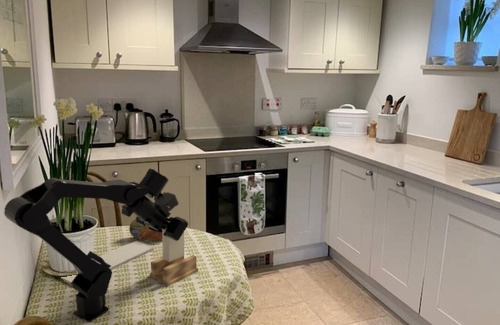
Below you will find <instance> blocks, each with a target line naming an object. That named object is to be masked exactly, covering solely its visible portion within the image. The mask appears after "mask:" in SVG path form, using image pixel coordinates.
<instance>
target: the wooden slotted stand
mask: <svg viewBox="0 0 500 325" xmlns="http://www.w3.org/2000/svg"><path fill="white" fill-rule="evenodd" d="M197 272H199V268H198V267H197V256H196V255H194V254H191V255H190V256H187V257H185V255H184V256H182V257H180V258H177V259H175V260H173V261H170V262H169V261H166V260H164V259H163V256H162V257H160V258H157V259H154V260H152V261H150V273H149V276H150V277H151V278H153V279H155V280H156V281H158V282H161V283H162V284H164V285H166V286H167V287H169V286H171V285H173V284H176V283H178V282H180V281H182V280H184V279H186V278H188V277H189V276H192V275H194V274H196V273H197Z"/></svg>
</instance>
